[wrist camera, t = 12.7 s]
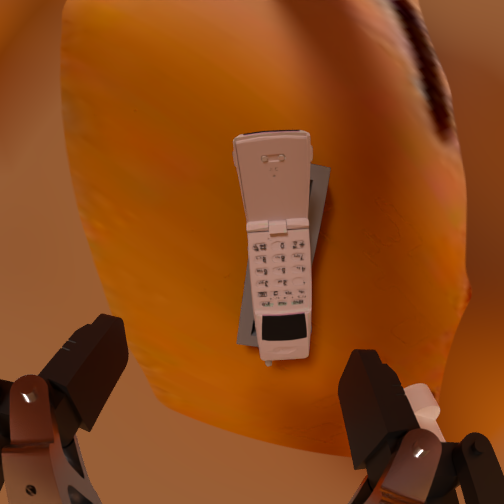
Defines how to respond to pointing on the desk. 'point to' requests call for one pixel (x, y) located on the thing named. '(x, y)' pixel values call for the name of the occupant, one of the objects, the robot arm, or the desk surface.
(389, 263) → the desk surface
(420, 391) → the cylinder with rectangular tab
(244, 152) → the mobile phone
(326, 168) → the pen tray
